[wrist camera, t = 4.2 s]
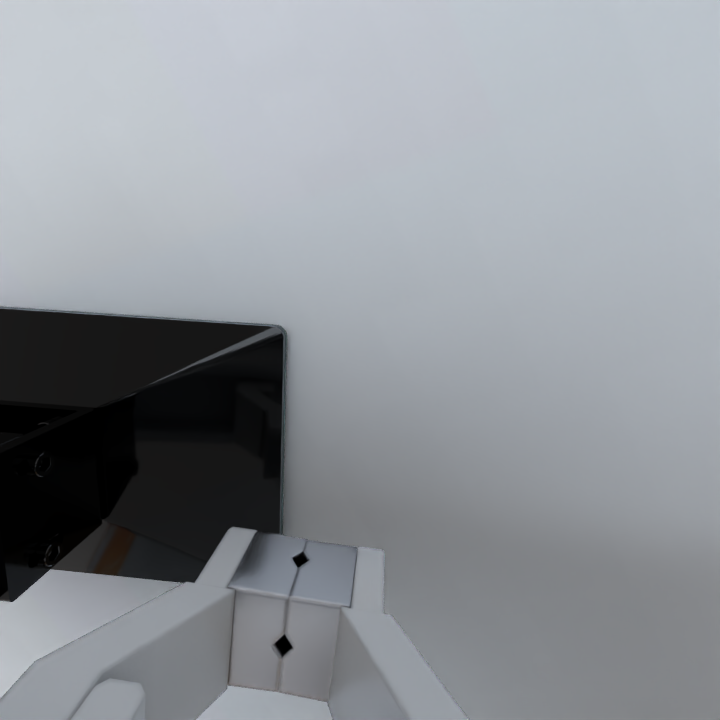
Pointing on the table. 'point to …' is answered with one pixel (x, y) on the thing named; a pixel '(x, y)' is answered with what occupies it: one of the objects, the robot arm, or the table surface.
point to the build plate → (134, 442)
